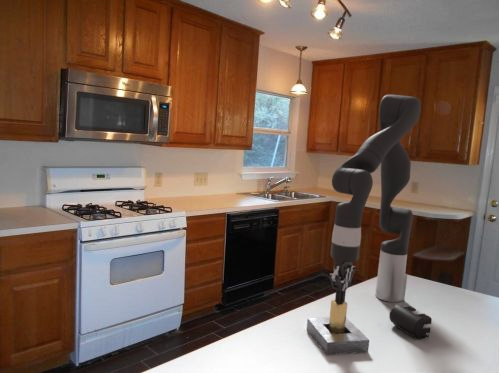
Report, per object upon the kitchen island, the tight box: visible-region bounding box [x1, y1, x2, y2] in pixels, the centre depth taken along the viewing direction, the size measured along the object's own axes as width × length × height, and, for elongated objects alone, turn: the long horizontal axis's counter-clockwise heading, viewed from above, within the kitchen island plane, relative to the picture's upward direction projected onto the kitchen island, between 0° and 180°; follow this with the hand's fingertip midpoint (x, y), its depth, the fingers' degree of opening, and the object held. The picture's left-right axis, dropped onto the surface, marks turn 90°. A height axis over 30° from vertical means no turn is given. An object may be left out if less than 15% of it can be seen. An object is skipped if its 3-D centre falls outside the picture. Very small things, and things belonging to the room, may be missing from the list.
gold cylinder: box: [328, 299, 348, 334], centre depth 113 cm, size 4×4×11 cm
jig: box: [306, 316, 370, 356], centre depth 113 cm, size 12×14×4 cm
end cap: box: [388, 304, 432, 340], centre depth 122 cm, size 10×7×7 cm
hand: (339, 302), depth 112 cm, fingers closed
